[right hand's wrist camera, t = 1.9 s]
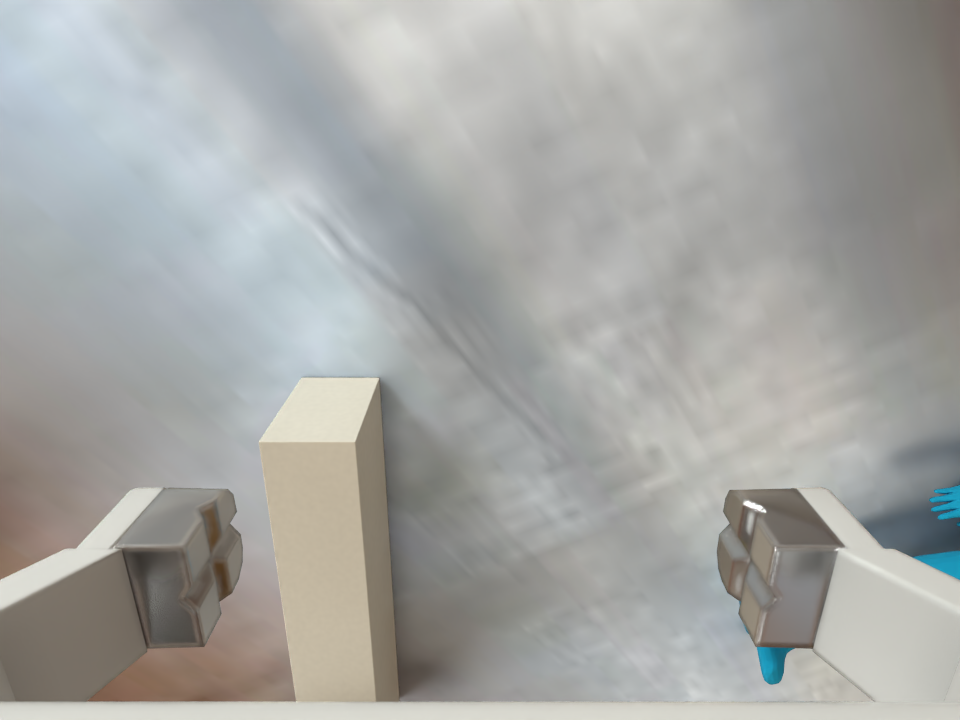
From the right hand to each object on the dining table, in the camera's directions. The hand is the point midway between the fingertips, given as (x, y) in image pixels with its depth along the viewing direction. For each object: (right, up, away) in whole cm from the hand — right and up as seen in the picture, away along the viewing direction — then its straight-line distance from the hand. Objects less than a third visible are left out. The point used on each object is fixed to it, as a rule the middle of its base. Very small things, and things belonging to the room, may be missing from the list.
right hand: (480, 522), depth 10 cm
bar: (-9, -11, +35) cm, 38 cm away
